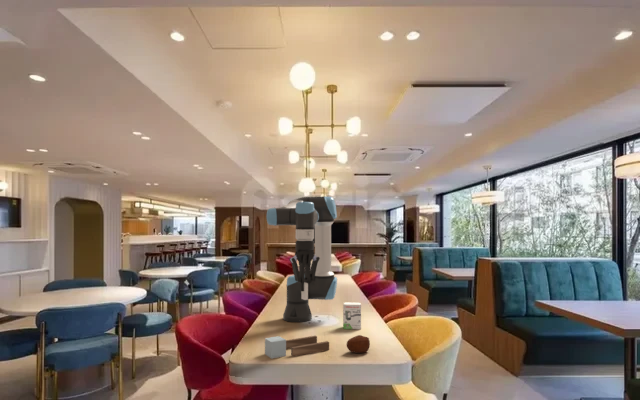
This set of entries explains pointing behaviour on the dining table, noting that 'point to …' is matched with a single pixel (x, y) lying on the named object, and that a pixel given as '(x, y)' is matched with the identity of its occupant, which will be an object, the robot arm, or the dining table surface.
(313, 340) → the pair of wooden slats
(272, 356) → the block
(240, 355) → the dining table surface
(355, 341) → the potato
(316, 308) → the dining table surface
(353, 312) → the ink box
